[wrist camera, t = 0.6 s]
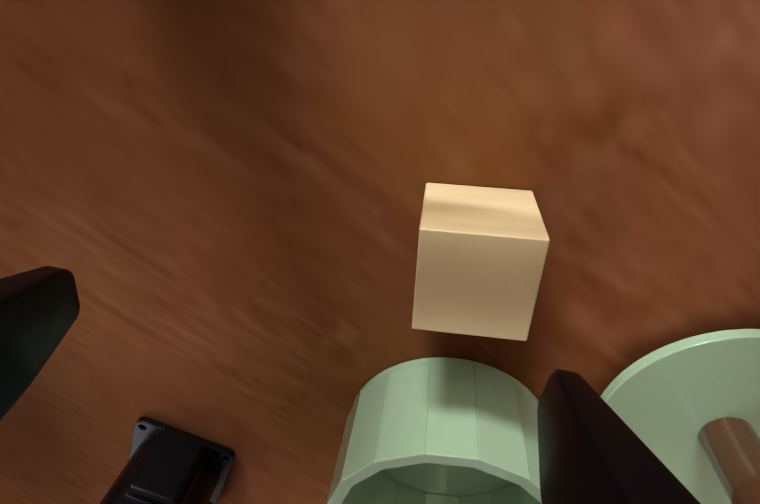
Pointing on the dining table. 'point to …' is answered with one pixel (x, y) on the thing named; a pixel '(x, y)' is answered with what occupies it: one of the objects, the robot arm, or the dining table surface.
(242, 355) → the dining table surface
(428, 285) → the block
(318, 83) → the dining table surface
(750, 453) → the lid
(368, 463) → the pot
